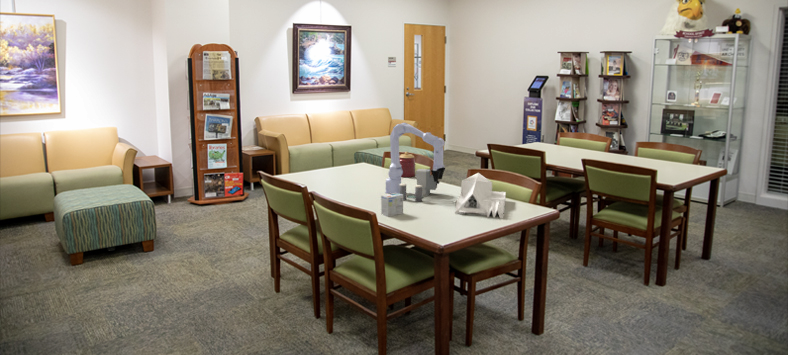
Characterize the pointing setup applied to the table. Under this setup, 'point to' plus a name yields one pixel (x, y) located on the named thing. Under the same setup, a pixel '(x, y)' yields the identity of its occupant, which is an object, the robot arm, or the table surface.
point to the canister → (407, 164)
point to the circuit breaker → (426, 181)
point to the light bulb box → (392, 204)
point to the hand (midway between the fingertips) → (438, 180)
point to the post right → (418, 193)
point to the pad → (411, 196)
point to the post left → (403, 190)
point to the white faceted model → (480, 197)
